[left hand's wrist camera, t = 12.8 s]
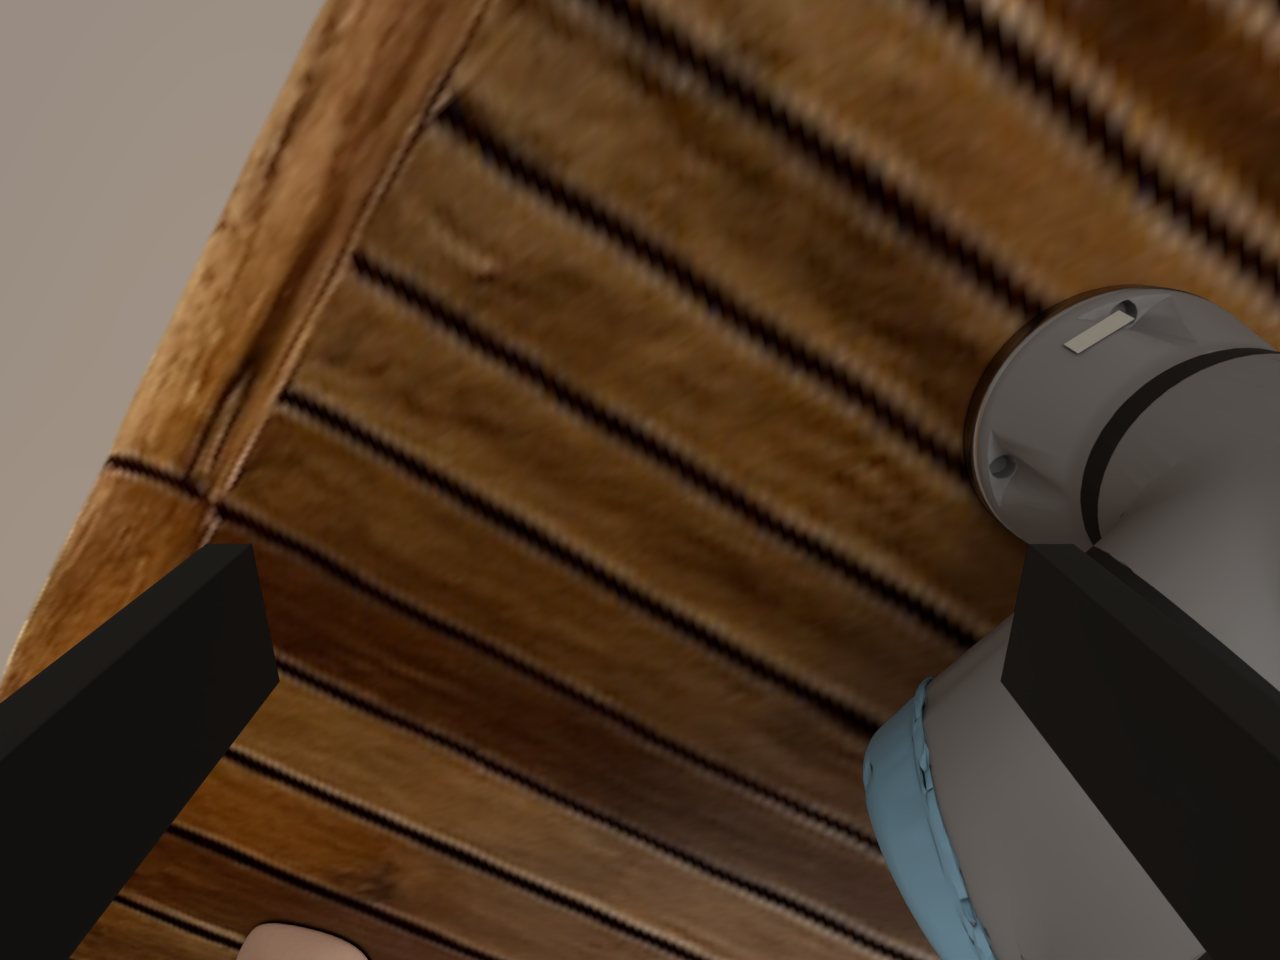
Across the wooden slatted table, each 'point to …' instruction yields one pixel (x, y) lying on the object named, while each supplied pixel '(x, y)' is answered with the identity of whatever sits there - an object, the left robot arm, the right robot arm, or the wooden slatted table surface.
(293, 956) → the anatomical model
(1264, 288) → the wooden slatted table surface
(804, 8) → the wooden slatted table surface
